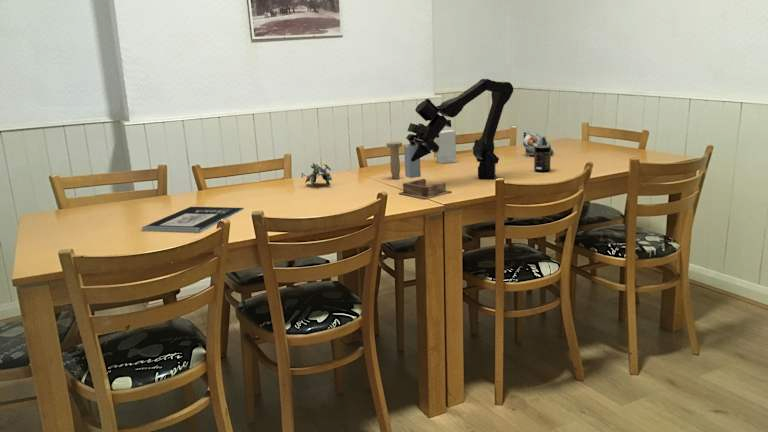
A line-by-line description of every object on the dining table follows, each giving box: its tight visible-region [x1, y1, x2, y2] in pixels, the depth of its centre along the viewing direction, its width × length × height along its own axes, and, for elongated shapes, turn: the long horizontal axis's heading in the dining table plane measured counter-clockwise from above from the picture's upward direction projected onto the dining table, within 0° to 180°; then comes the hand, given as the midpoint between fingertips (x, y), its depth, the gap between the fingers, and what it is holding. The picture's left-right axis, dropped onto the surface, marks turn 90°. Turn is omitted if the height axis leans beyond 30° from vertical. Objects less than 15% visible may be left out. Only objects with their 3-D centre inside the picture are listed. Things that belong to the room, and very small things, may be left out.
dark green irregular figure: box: [301, 162, 333, 188], centre depth 260 cm, size 11×11×12 cm
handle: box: [386, 141, 403, 180], centre depth 266 cm, size 5×6×15 cm
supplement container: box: [533, 145, 552, 173], centre depth 268 cm, size 7×7×10 cm
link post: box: [403, 144, 422, 179], centre depth 246 cm, size 4×4×12 cm
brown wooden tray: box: [398, 178, 452, 201], centre depth 238 cm, size 14×14×4 cm
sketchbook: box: [141, 206, 244, 234], centre depth 216 cm, size 22×30×2 cm
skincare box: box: [435, 129, 457, 165], centre depth 297 cm, size 8×6×15 cm
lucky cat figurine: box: [522, 131, 555, 157], centre depth 304 cm, size 15×12×14 cm
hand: (409, 160), depth 246 cm, fingers closed on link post, 4 cm apart
